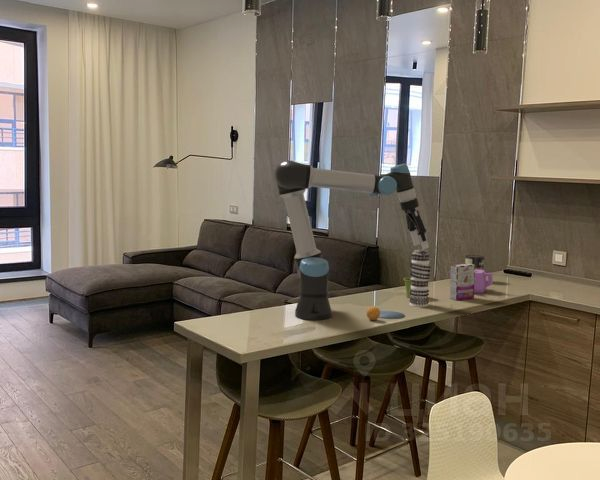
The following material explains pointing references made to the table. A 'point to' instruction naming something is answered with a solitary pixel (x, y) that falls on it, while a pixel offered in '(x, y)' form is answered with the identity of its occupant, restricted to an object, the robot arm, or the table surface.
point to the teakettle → (481, 281)
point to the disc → (391, 315)
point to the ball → (373, 313)
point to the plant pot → (408, 286)
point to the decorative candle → (419, 278)
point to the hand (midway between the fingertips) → (421, 246)
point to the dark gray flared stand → (475, 261)
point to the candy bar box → (462, 281)
